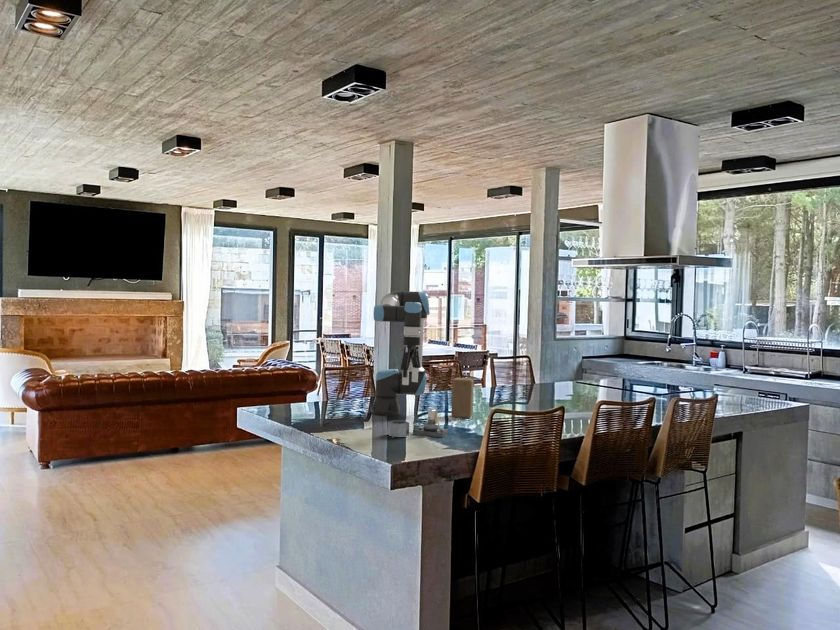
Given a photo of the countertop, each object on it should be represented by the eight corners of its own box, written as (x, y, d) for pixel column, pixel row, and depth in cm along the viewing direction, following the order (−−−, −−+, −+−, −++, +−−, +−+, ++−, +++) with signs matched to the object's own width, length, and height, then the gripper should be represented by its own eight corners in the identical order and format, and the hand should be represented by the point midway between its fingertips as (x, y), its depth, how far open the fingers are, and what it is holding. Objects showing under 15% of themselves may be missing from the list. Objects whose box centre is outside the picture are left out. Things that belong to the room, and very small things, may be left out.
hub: (384, 436, 312) (385, 422, 311) (392, 433, 320) (392, 419, 320) (404, 438, 309) (404, 424, 309) (410, 435, 317) (411, 421, 317)
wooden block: (470, 418, 367) (471, 380, 366) (451, 417, 369) (452, 379, 368) (472, 415, 377) (474, 378, 376) (453, 414, 379) (455, 377, 378)
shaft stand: (412, 434, 319) (413, 410, 318) (419, 430, 328) (420, 407, 328) (442, 437, 314) (443, 413, 314) (448, 433, 324) (449, 409, 323)
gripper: (411, 337, 306) (409, 386, 306) (427, 335, 330) (426, 381, 330) (394, 336, 308) (392, 385, 308) (412, 335, 332) (410, 380, 332)
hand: (410, 383), depth 319 cm, fingers open, 13 cm apart
